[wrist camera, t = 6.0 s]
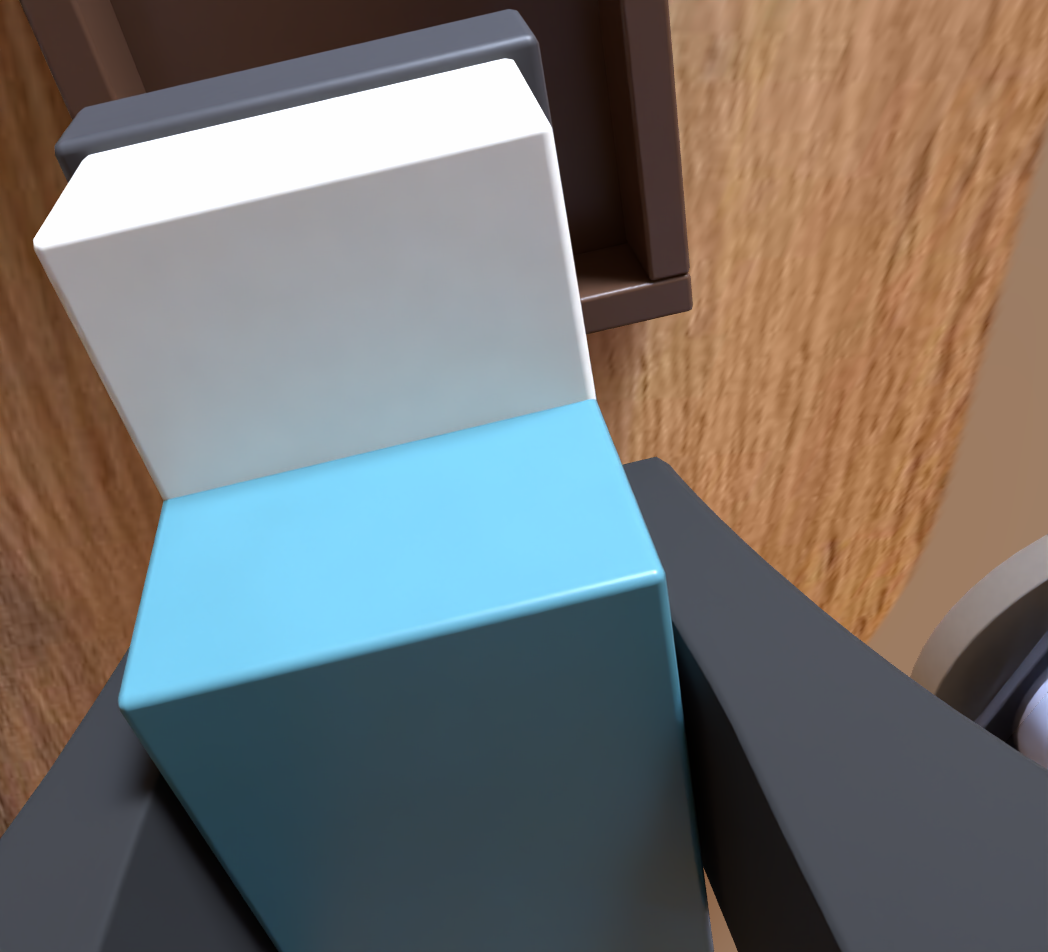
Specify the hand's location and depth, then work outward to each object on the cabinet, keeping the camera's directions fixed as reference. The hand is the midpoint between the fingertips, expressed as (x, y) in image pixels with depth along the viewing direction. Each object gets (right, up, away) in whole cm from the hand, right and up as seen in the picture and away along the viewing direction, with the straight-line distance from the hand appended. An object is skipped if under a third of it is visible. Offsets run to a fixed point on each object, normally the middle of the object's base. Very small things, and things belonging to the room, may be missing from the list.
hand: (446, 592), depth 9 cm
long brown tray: (-3, +16, -2) cm, 16 cm away
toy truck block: (0, +2, +1) cm, 2 cm away
